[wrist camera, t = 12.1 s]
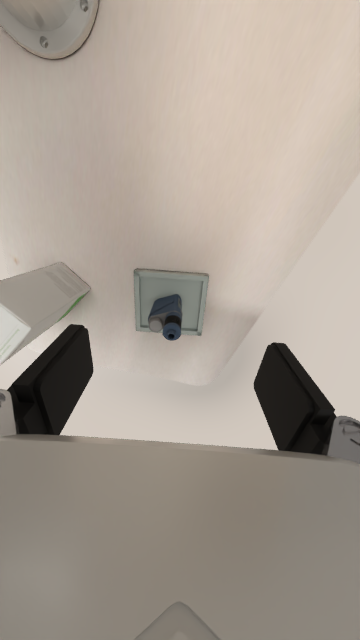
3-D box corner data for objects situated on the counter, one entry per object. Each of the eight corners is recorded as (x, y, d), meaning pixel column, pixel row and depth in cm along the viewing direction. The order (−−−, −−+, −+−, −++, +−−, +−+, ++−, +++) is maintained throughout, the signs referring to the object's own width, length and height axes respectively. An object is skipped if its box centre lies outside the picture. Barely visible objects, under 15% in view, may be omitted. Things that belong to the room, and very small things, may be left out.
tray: (136, 268, 34) (133, 271, 32) (207, 273, 34) (208, 276, 32) (138, 326, 39) (135, 331, 37) (200, 330, 39) (201, 335, 37)
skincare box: (66, 315, 38) (-3, 371, 24) (35, 290, 36) (-60, 335, 22) (93, 287, 36) (33, 331, 22) (60, 258, 34) (-29, 286, 20)
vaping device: (184, 305, 36) (183, 343, 25) (156, 312, 37) (144, 351, 26) (180, 291, 35) (178, 325, 24) (151, 299, 35) (136, 334, 25)
